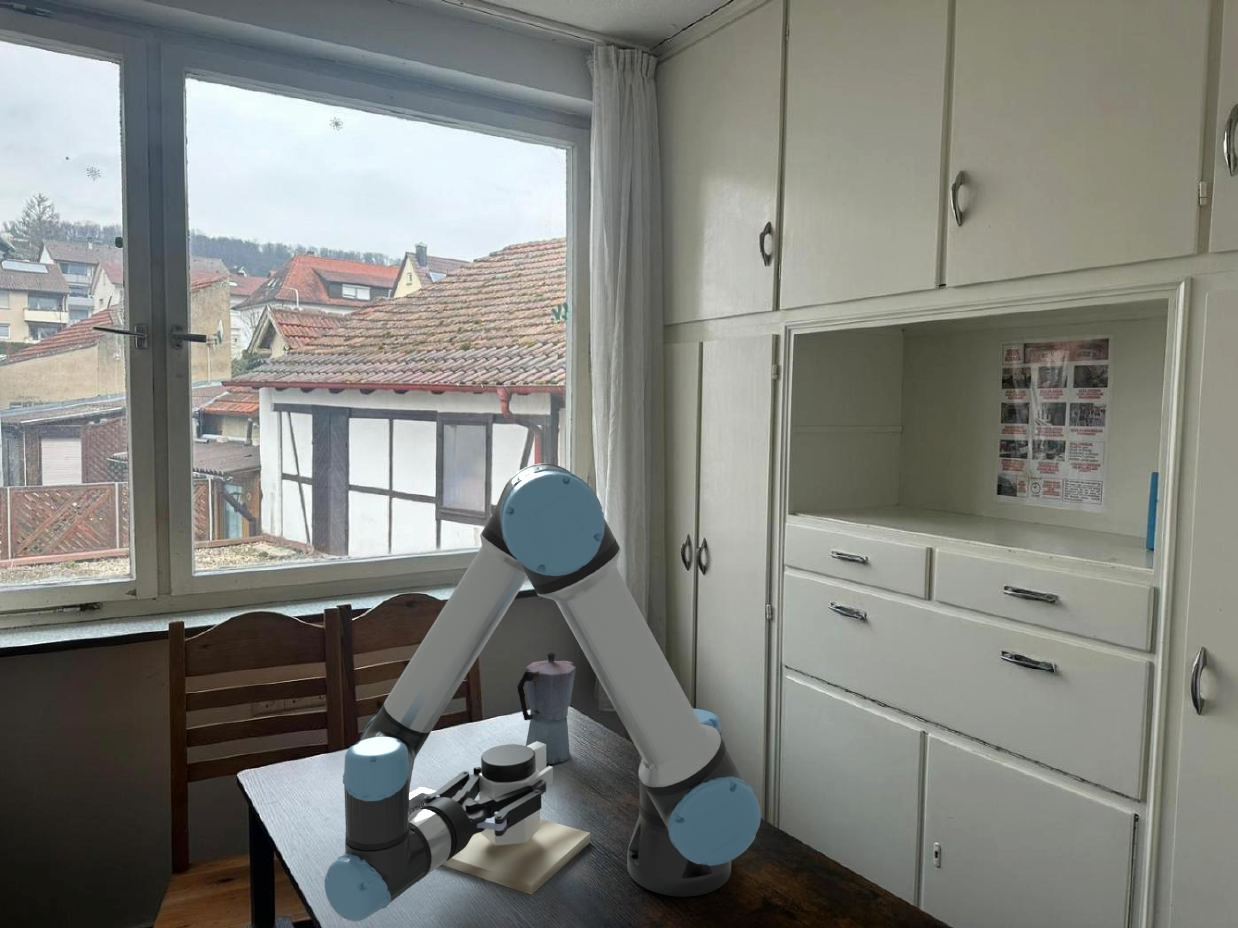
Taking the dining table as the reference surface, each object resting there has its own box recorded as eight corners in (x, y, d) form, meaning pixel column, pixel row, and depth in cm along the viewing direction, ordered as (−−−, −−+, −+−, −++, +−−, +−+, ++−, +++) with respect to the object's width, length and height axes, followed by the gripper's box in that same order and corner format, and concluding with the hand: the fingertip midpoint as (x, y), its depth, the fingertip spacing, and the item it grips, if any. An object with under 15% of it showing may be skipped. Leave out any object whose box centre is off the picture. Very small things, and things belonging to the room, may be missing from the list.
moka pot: (590, 748, 167) (590, 648, 165) (542, 778, 154) (541, 669, 152) (551, 738, 172) (550, 641, 170) (501, 766, 159) (500, 660, 157)
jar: (479, 848, 124) (477, 767, 123) (481, 821, 132) (479, 745, 131) (541, 842, 125) (539, 763, 124) (539, 816, 133) (537, 741, 132)
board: (590, 842, 131) (590, 832, 131) (531, 894, 117) (531, 884, 117) (495, 814, 140) (495, 805, 140) (430, 860, 126) (430, 851, 126)
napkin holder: (482, 799, 146) (482, 767, 146) (476, 771, 157) (476, 741, 157) (568, 790, 150) (568, 758, 150) (556, 763, 161) (556, 733, 161)
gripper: (376, 844, 117) (479, 779, 137) (492, 883, 108) (585, 807, 128) (375, 791, 117) (479, 734, 137) (492, 826, 107) (585, 759, 127)
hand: (530, 769), depth 132 cm, fingers closed on jar, 7 cm apart
